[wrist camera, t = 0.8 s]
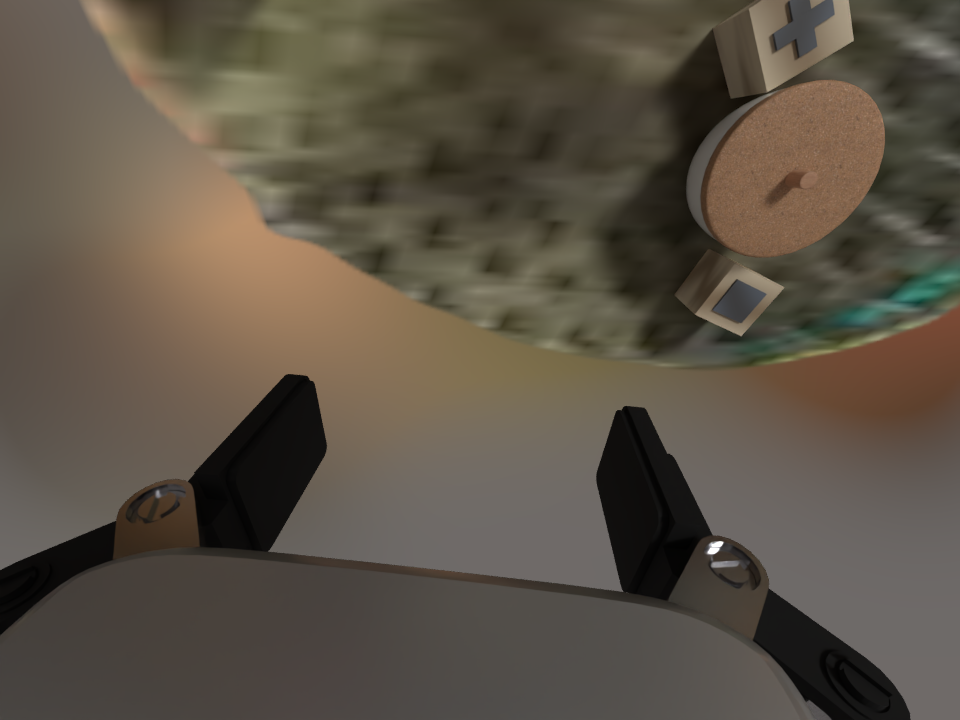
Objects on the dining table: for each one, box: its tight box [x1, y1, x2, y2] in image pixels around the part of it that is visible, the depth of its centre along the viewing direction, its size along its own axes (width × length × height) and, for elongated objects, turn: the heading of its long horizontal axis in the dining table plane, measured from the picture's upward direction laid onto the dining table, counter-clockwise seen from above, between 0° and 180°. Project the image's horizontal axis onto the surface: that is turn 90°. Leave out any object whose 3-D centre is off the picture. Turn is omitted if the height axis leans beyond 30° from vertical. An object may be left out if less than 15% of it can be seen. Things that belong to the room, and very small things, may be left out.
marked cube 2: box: [713, 0, 854, 99], centre depth 26 cm, size 5×5×5 cm
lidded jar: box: [686, 80, 885, 257], centre depth 28 cm, size 11×11×9 cm
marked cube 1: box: [674, 248, 784, 336], centre depth 35 cm, size 5×5×5 cm
